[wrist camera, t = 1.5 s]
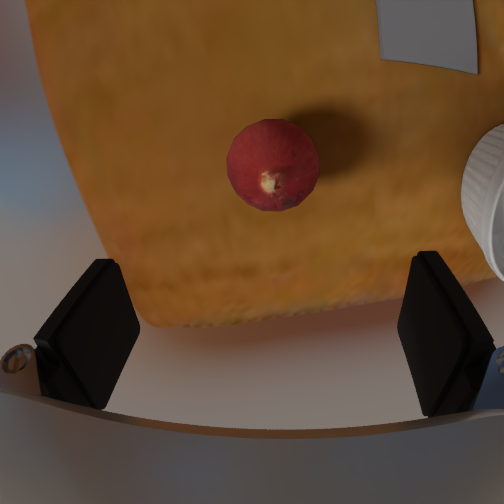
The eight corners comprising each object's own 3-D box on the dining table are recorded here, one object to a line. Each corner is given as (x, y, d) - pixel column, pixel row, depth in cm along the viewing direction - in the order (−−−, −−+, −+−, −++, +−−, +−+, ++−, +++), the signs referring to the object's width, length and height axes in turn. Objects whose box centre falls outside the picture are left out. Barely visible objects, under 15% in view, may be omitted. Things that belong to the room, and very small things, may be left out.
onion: (325, 172, 24) (342, 218, 17) (255, 198, 25) (243, 252, 18) (296, 101, 21) (303, 114, 14) (222, 131, 23) (195, 160, 16)
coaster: (371, -37, 14) (373, -40, 14) (465, -17, 13) (469, -18, 13) (380, 59, 19) (383, 59, 18) (472, 73, 18) (477, 74, 17)
